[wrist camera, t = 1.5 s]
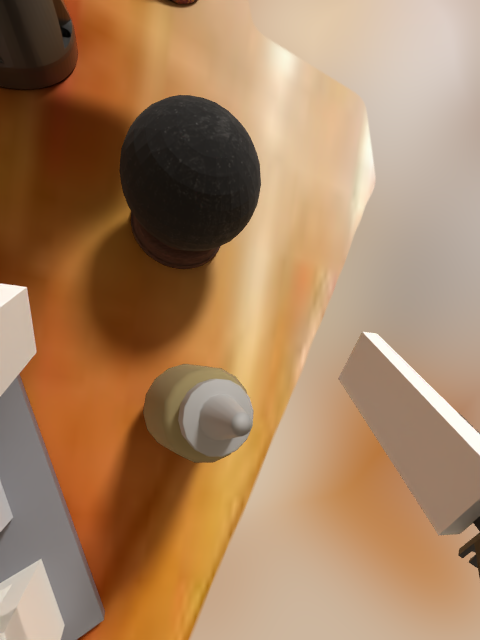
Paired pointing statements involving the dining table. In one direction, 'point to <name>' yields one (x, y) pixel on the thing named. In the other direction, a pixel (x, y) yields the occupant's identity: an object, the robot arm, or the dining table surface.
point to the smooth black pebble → (188, 179)
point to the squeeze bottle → (198, 412)
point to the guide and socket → (38, 538)
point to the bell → (183, 1)
